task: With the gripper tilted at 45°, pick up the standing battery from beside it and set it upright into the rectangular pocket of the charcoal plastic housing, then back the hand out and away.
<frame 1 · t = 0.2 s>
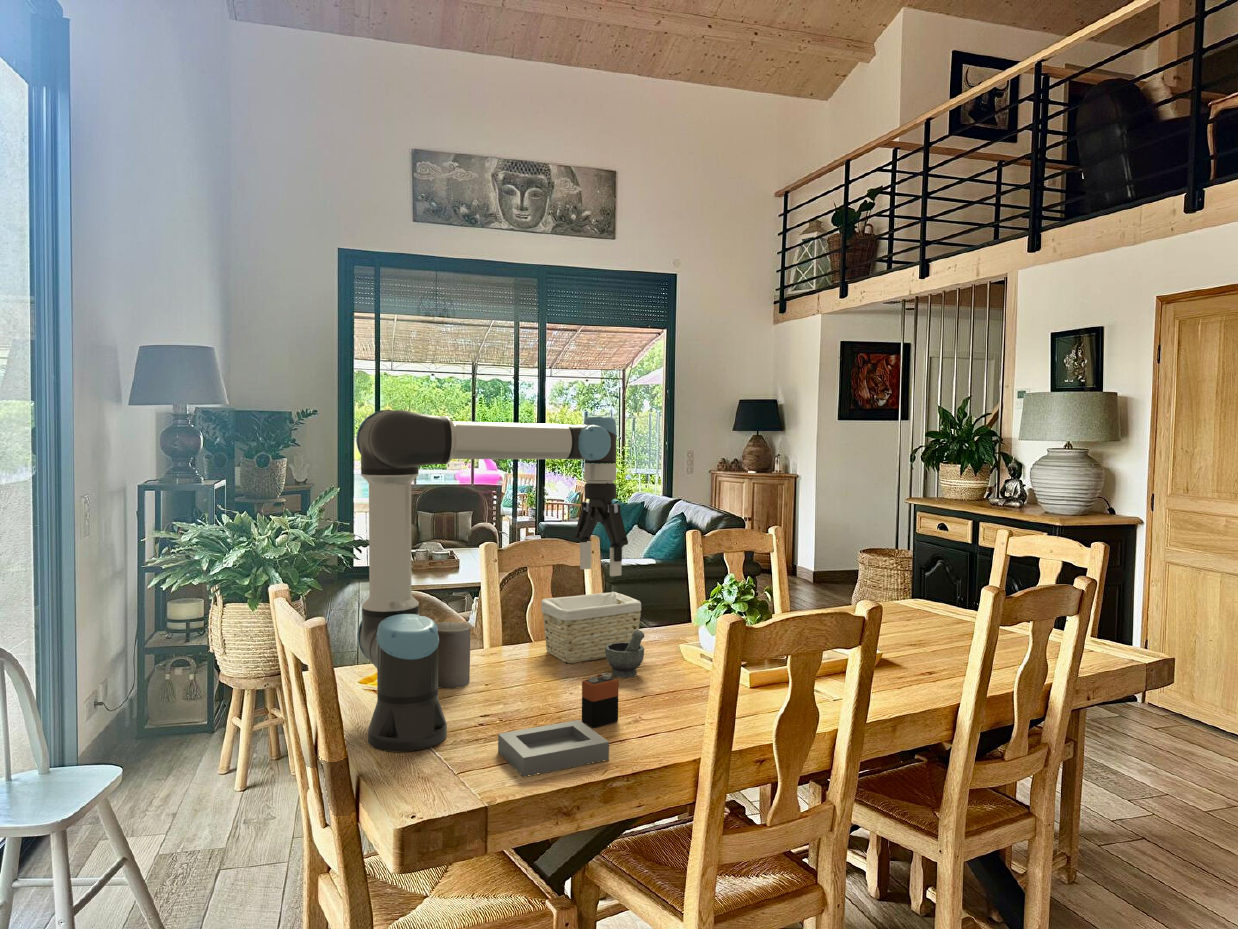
hand: (600, 572, 201), 27 cm above the table, tool pointing down, fingers open, 13 cm apart
battery: (599, 723, 178), on the table
mortar and pestle: (626, 675, 212), on the table
housing: (552, 756, 160), on the table
storage basket: (590, 654, 232), on the table
pillar candle: (450, 683, 204), on the table
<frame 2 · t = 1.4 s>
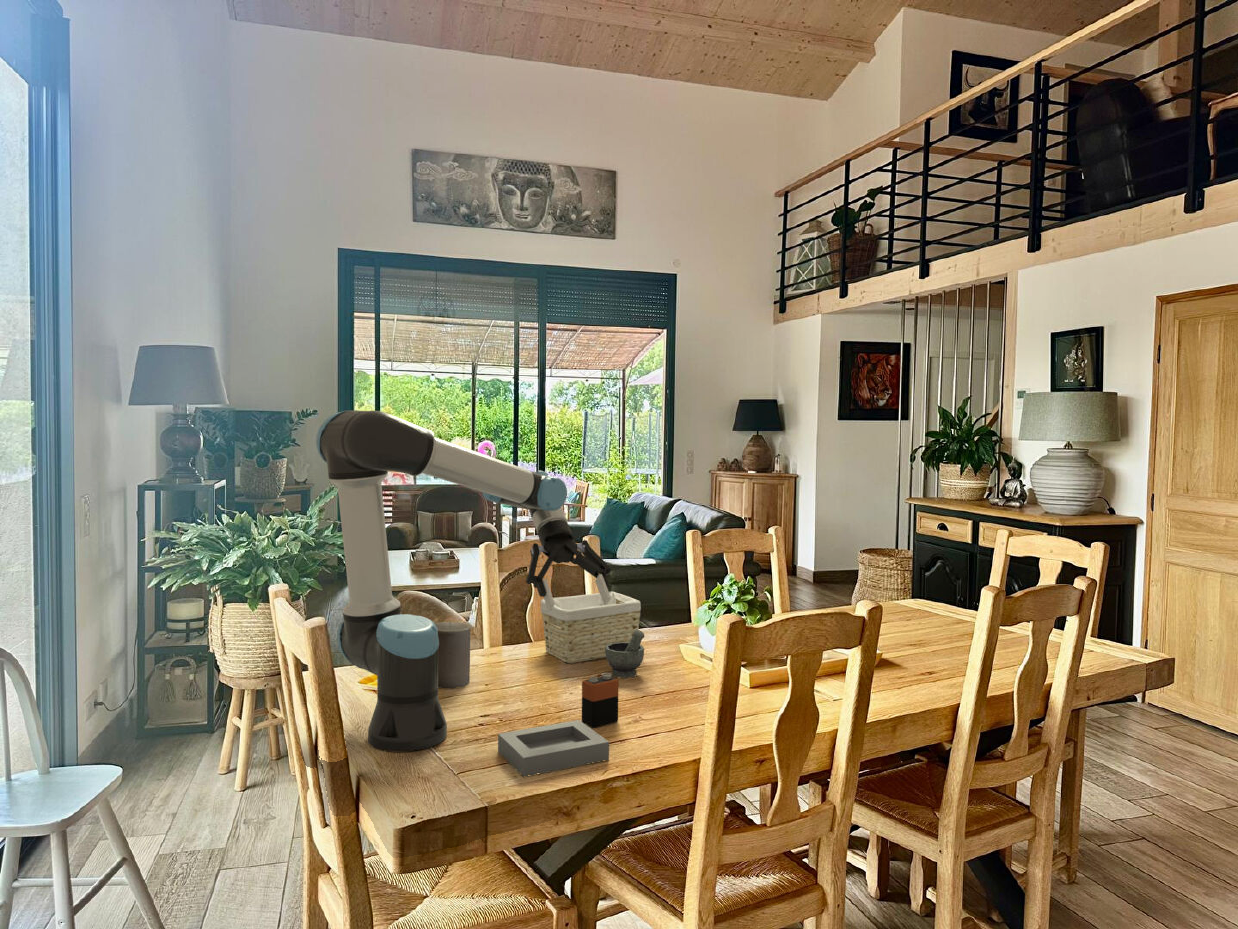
hand: (580, 604, 187), 23 cm above the table, tool tilted 45°, fingers open, 13 cm apart
nothing on the table moved.
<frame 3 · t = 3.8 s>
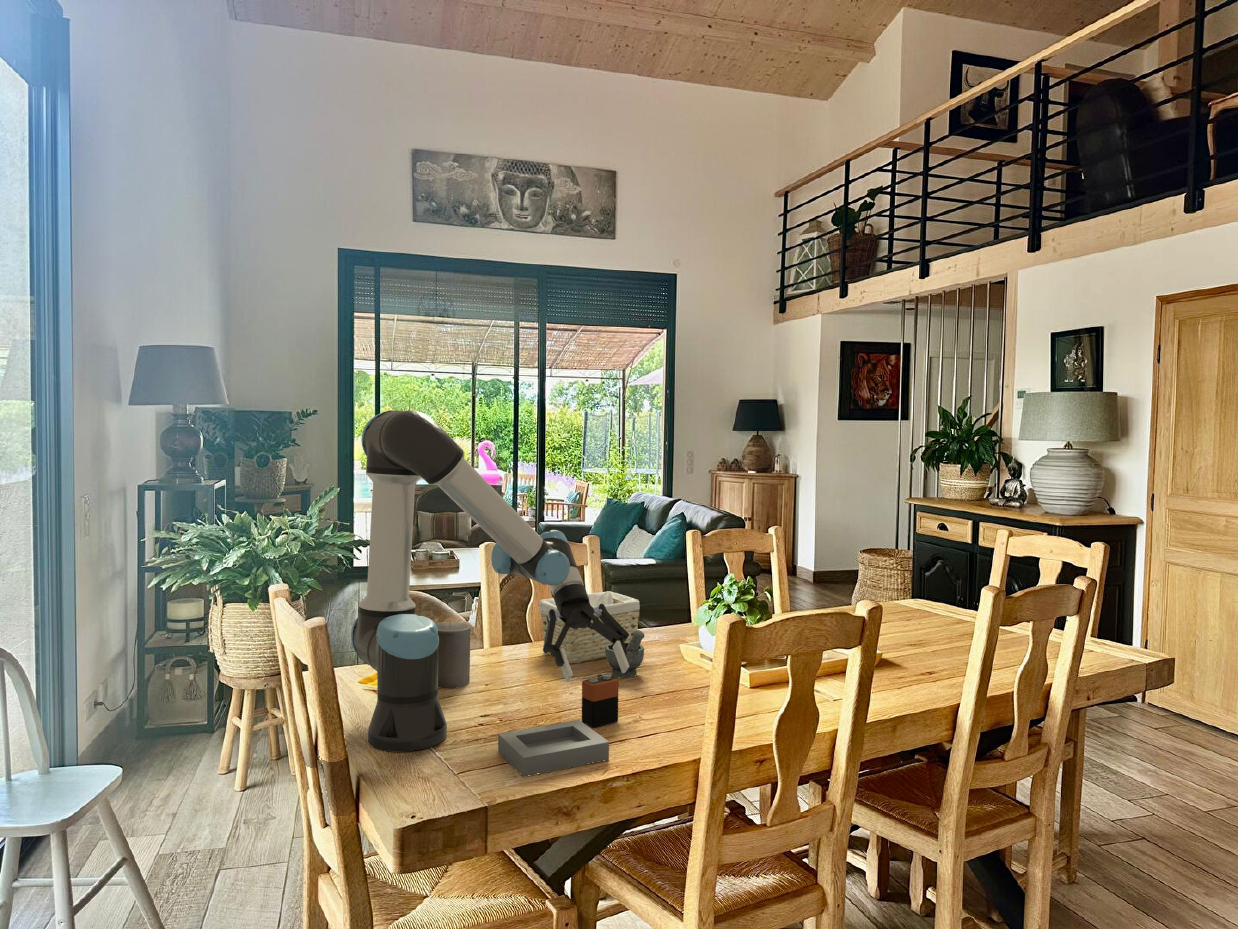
hand: (598, 674, 183), 9 cm above the table, tool tilted 45°, fingers open, 13 cm apart
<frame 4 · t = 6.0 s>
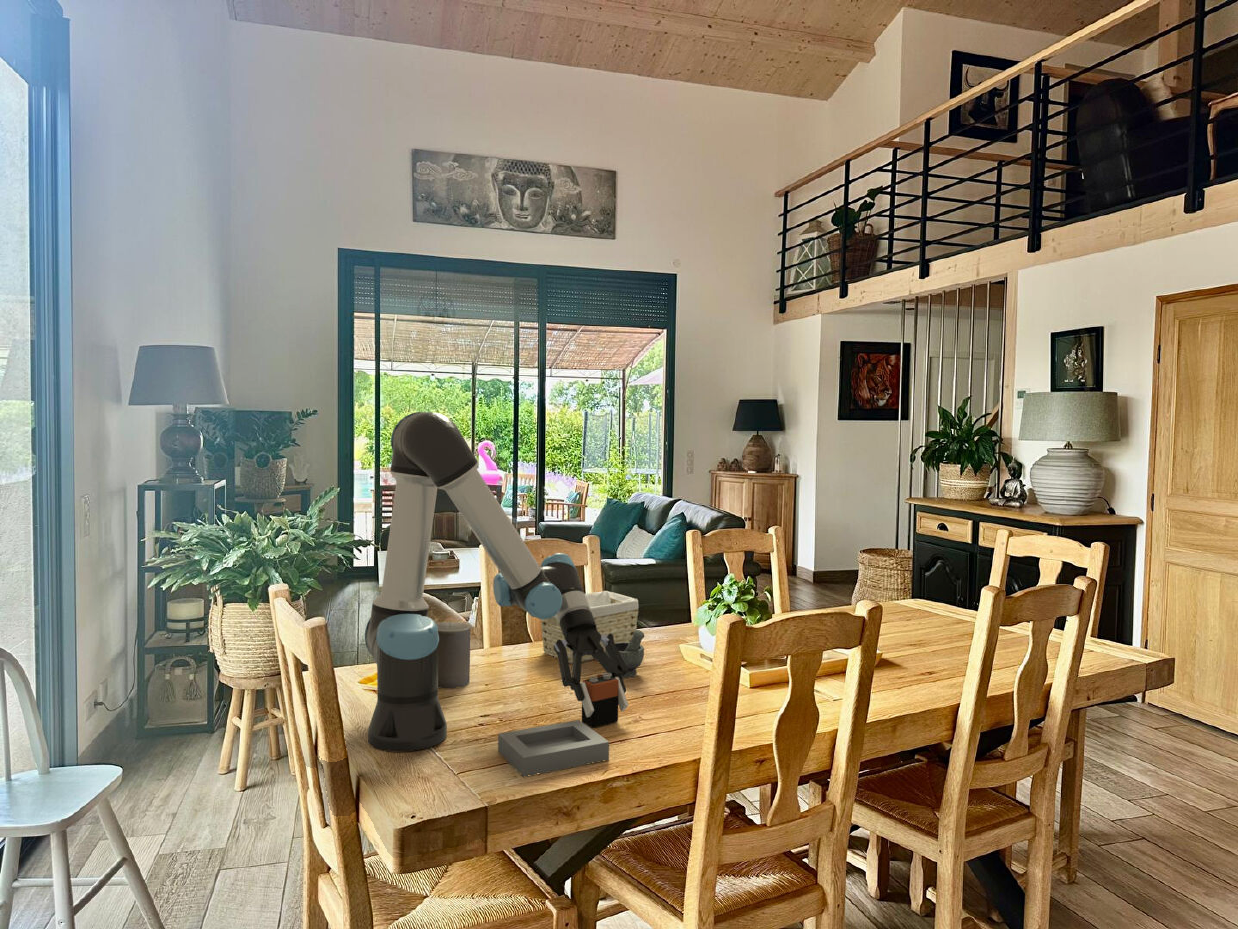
hand: (607, 710, 175), 4 cm above the table, tool tilted 45°, fingers closed on battery, 7 cm apart
battery: (599, 723, 178), on the table, touching gripper
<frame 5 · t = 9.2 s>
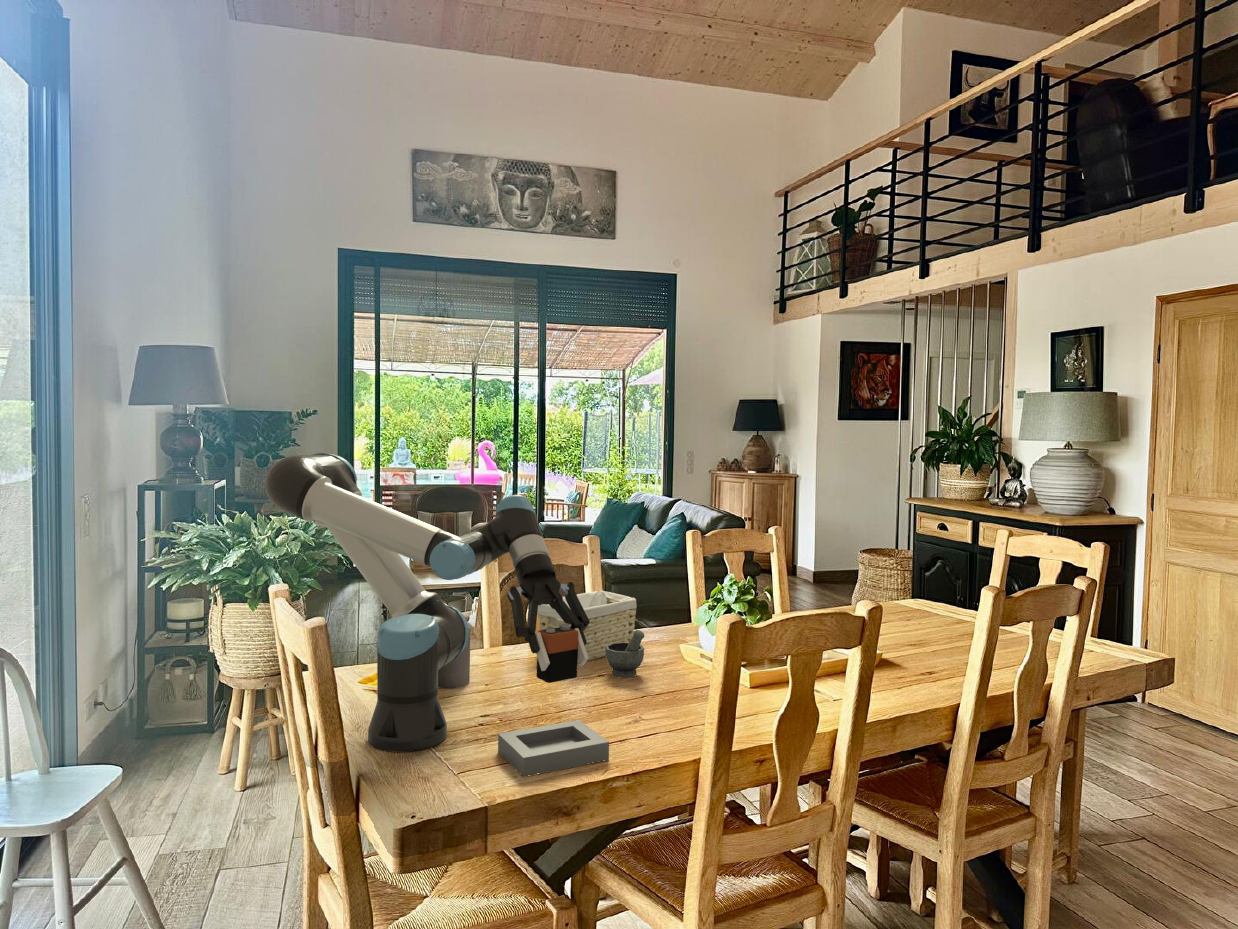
hand: (565, 664, 158), 18 cm above the table, tool tilted 45°, fingers closed on battery, 7 cm apart
battery: (556, 679, 161), point 14 cm above the table, touching gripper
when the fingers open (7 cm above the table, at t = 12.7 s): battery drops 2 cm, resting on housing.
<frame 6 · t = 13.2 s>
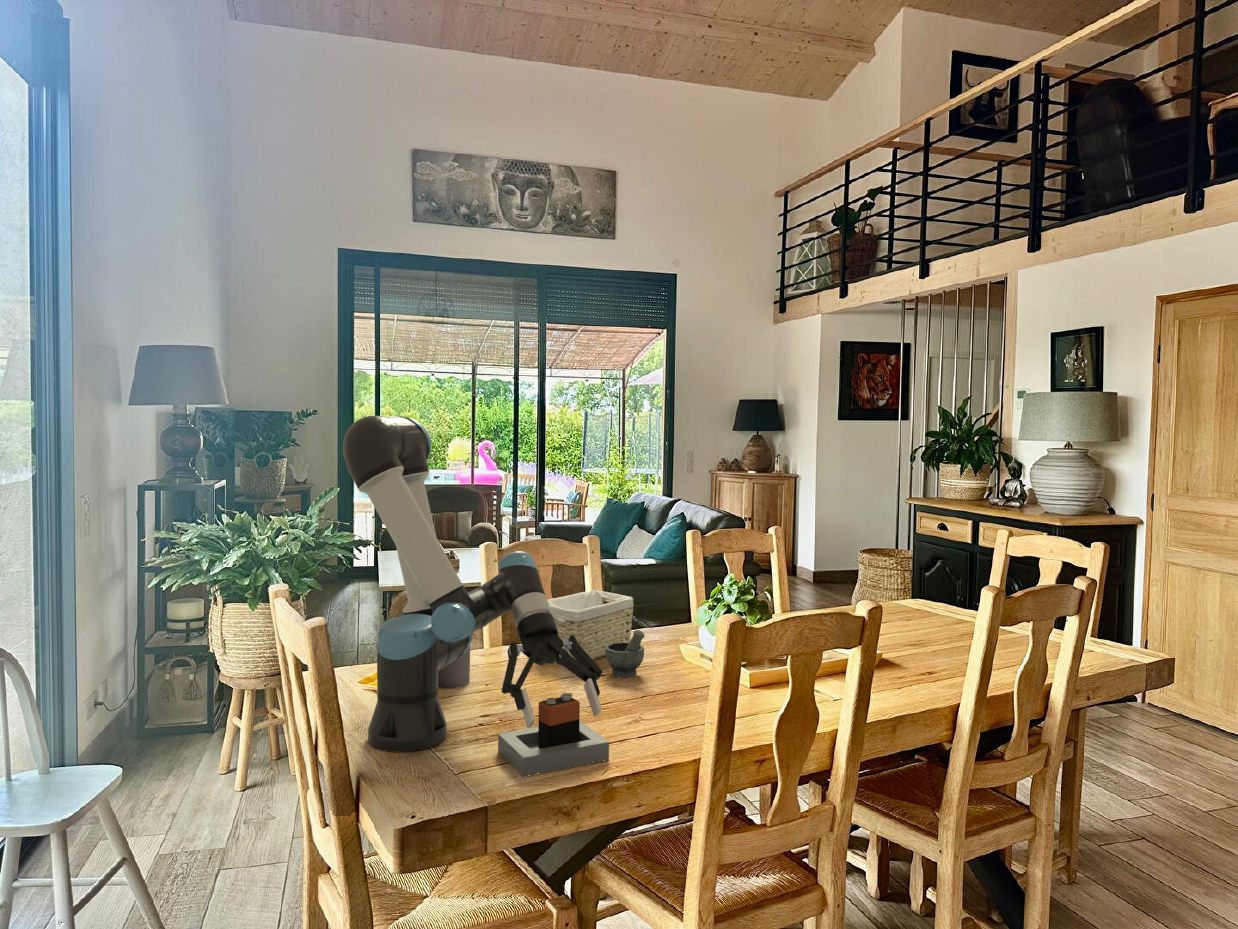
hand: (565, 718, 158), 8 cm above the table, tool tilted 45°, fingers open, 13 cm apart
battery: (558, 750, 160), point 1 cm above the table, touching housing
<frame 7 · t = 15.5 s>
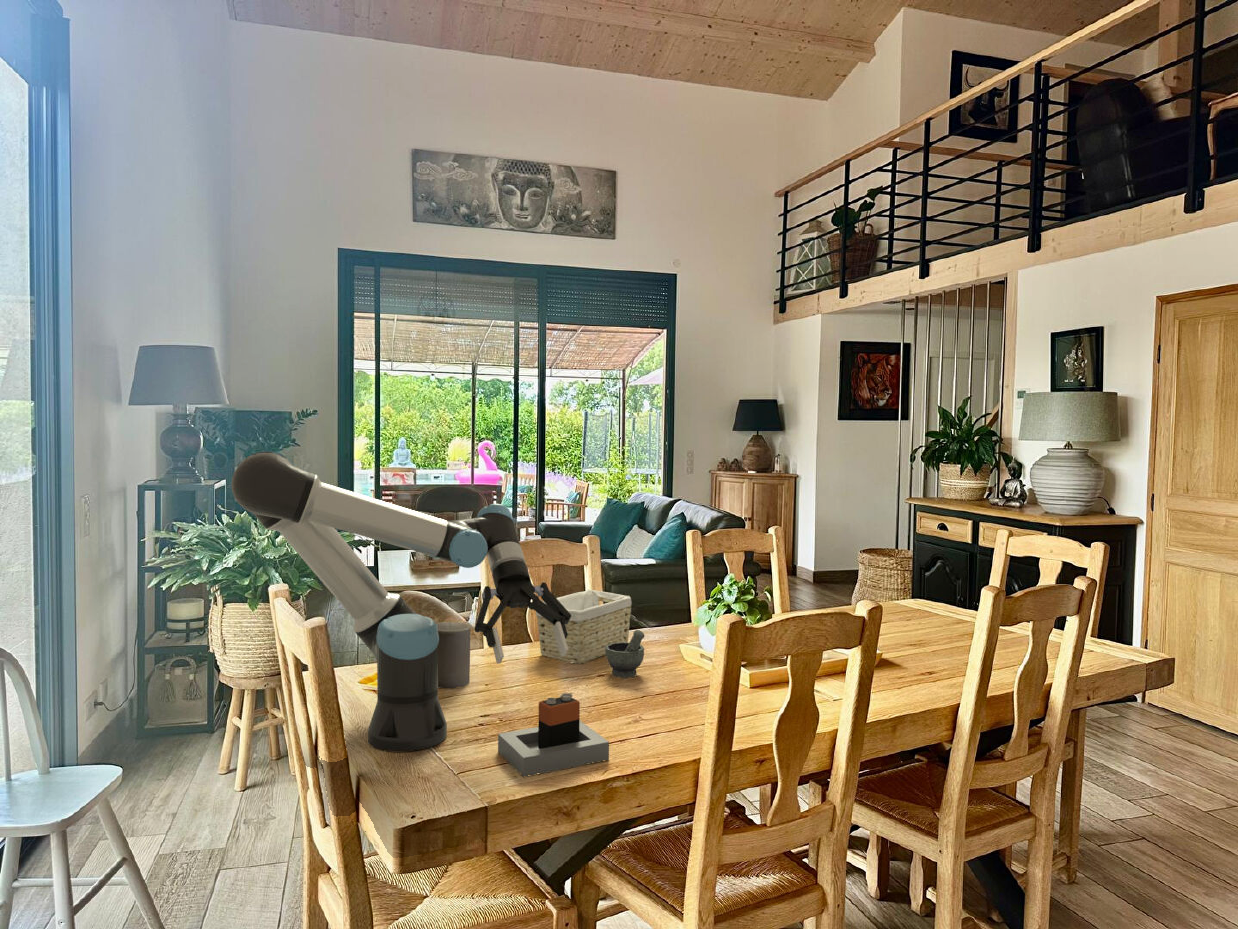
hand: (533, 656, 168), 16 cm above the table, tool tilted 45°, fingers open, 13 cm apart
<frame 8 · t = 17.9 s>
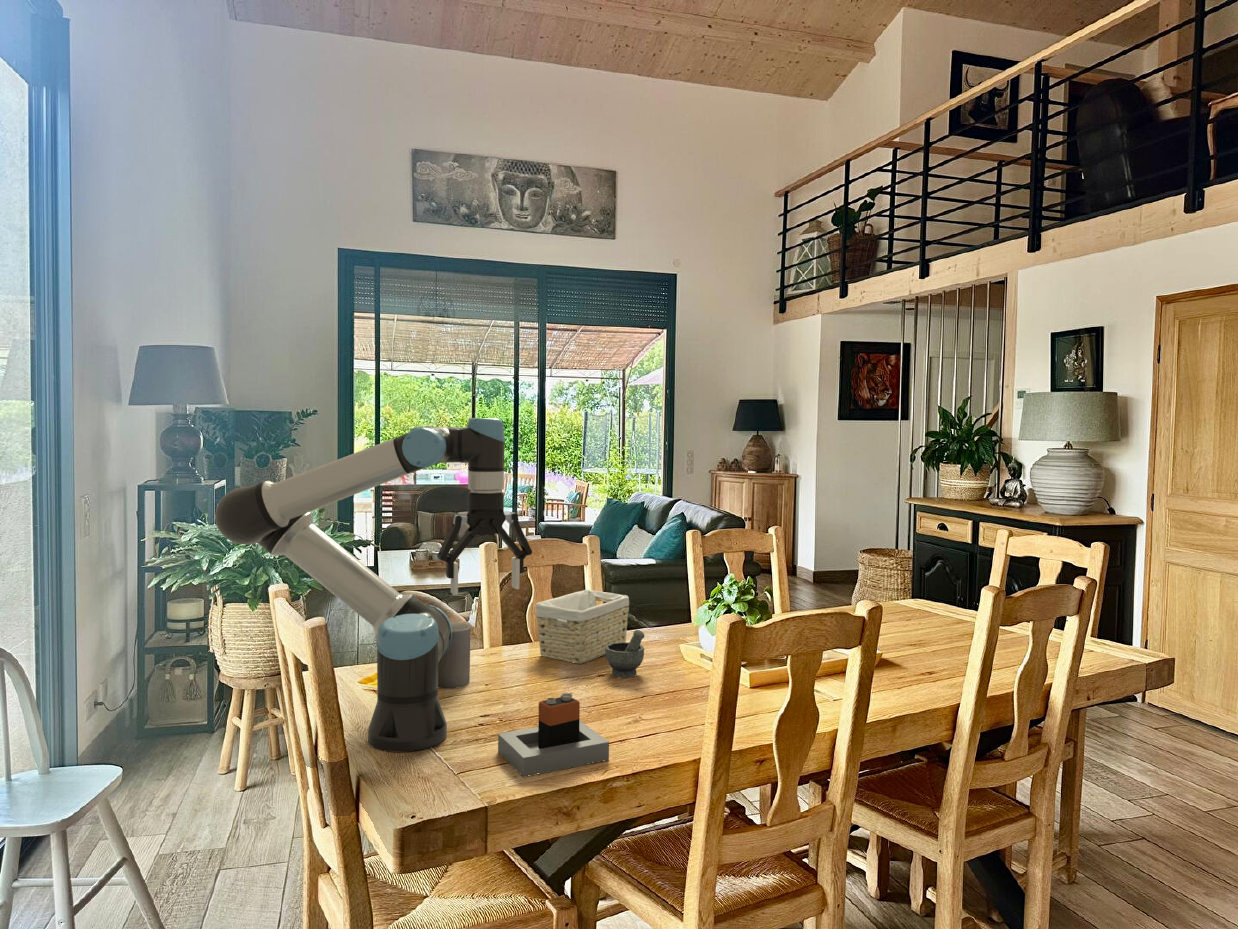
hand: (485, 591, 181), 27 cm above the table, tool pointing down, fingers open, 13 cm apart
at the end: battery 1.1 cm off-centre on the housing, point 1.3 cm above the housing's base; battery tilted 0°; the gripper is holding nothing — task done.
